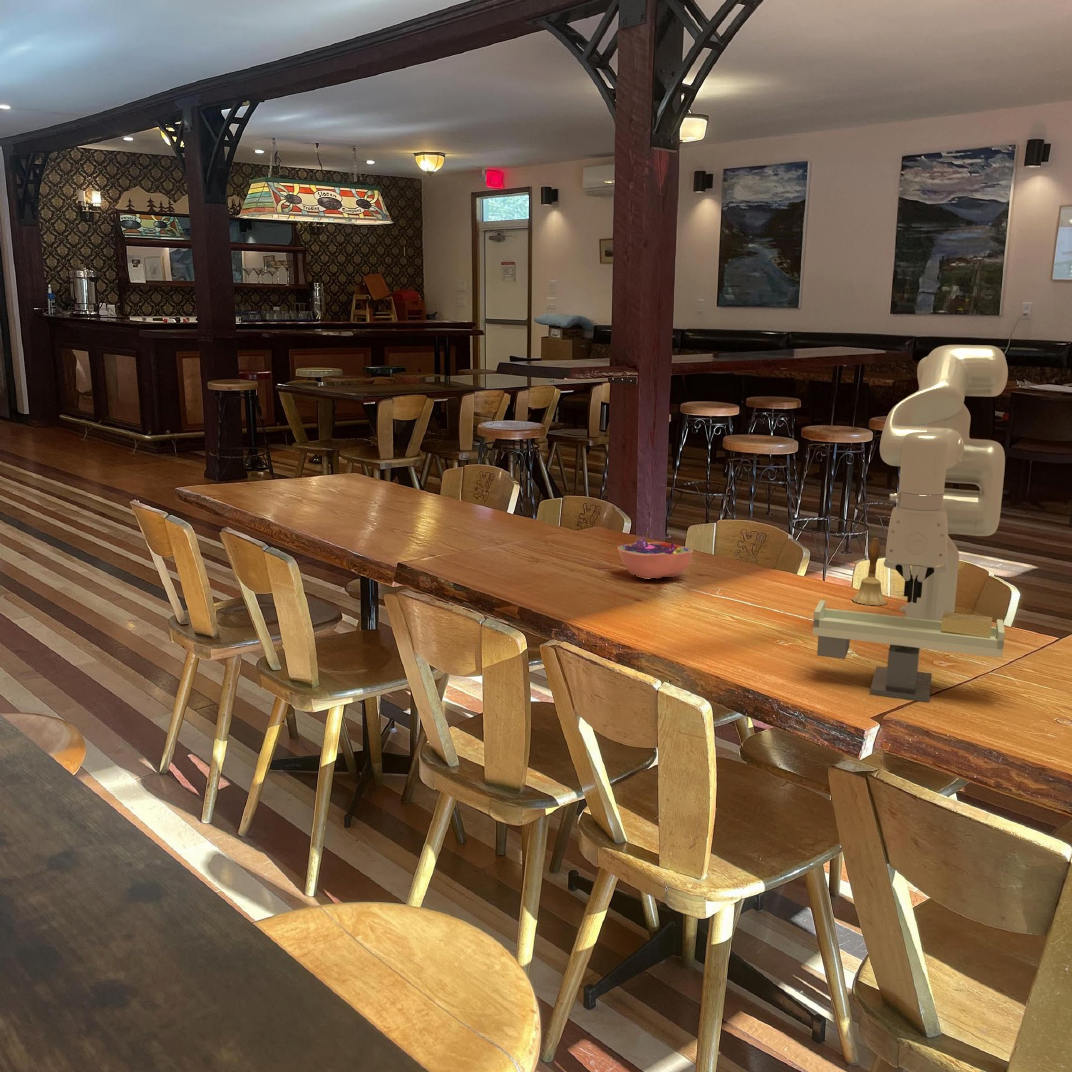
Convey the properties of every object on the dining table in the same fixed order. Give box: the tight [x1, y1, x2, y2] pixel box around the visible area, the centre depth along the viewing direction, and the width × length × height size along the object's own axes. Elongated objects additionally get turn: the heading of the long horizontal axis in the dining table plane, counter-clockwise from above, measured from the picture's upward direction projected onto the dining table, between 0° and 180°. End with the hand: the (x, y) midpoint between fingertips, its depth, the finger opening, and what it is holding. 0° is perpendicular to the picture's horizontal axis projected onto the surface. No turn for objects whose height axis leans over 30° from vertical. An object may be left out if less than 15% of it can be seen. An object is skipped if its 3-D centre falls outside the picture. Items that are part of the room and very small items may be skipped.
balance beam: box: [812, 599, 1006, 660], centre depth 184 cm, size 32×9×8 cm, turn 67°
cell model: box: [616, 536, 694, 579], centre depth 266 cm, size 17×20×11 cm
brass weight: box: [941, 611, 993, 638], centre depth 179 cm, size 8×5×4 cm, turn 64°
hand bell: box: [851, 537, 888, 607], centre depth 245 cm, size 8×8×16 cm
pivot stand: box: [869, 644, 933, 703], centre depth 185 cm, size 10×14×8 cm
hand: (912, 600), depth 183 cm, fingers closed
